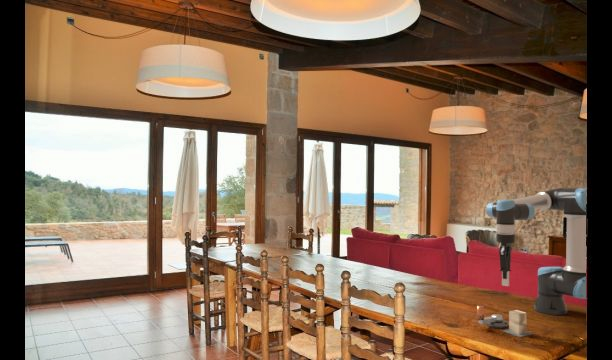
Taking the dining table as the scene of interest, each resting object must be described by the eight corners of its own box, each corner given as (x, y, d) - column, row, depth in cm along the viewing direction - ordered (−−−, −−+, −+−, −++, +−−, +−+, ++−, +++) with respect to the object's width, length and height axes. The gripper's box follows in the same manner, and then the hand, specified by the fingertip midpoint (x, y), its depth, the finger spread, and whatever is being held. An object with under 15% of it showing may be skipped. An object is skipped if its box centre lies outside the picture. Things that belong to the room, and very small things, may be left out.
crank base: (495, 321, 215) (495, 317, 215) (511, 326, 207) (511, 322, 207) (482, 324, 211) (482, 320, 211) (498, 329, 203) (498, 325, 203)
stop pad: (515, 328, 205) (515, 327, 205) (533, 334, 197) (533, 333, 197) (502, 331, 201) (502, 330, 201) (519, 337, 193) (519, 336, 193)
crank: (496, 318, 212) (496, 301, 212) (505, 321, 208) (505, 304, 208) (473, 323, 206) (473, 305, 206) (482, 326, 201) (482, 308, 201)
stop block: (516, 329, 203) (516, 309, 203) (526, 332, 198) (526, 312, 198) (509, 331, 200) (509, 311, 200) (518, 334, 196) (518, 314, 196)
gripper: (500, 231, 209) (500, 281, 209) (492, 234, 199) (492, 287, 198) (517, 233, 204) (517, 284, 204) (510, 235, 194) (510, 289, 194)
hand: (505, 285), depth 201 cm, fingers closed
